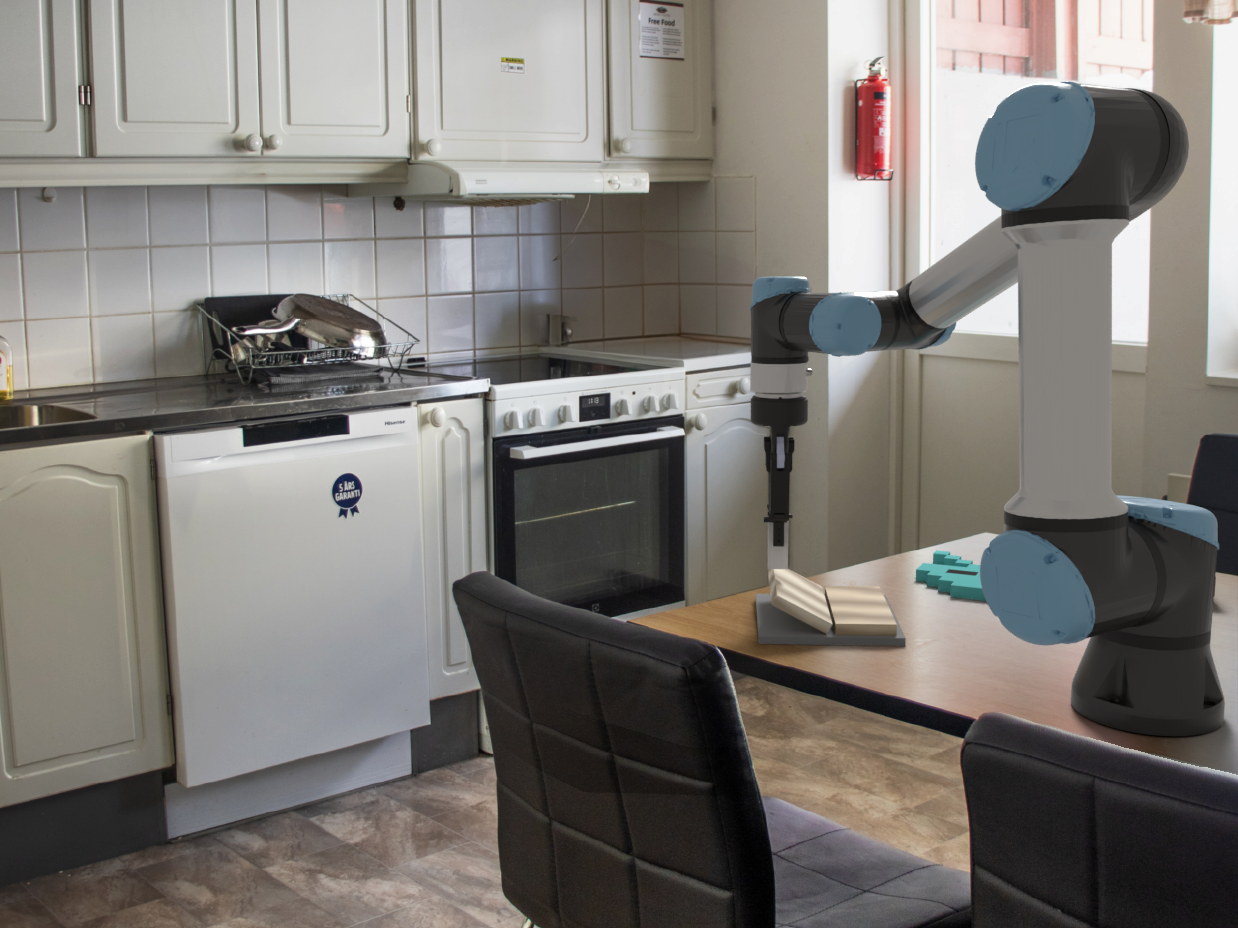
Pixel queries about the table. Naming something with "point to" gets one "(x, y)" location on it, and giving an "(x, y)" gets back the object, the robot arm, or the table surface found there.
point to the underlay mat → (810, 629)
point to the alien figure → (952, 576)
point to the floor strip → (859, 611)
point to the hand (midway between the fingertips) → (777, 567)
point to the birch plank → (799, 598)
